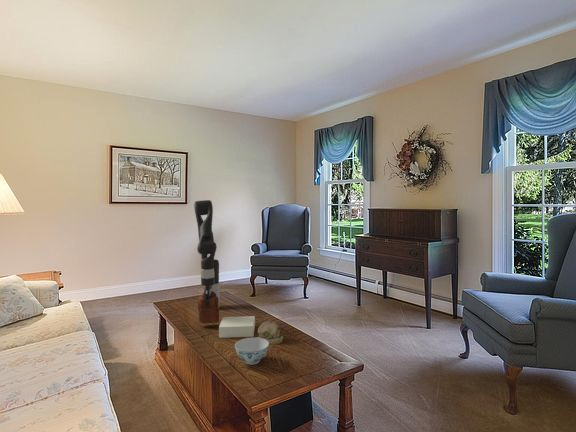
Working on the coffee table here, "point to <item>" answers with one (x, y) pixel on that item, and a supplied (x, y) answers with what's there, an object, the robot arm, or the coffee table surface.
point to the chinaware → (252, 349)
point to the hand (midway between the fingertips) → (208, 305)
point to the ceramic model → (270, 332)
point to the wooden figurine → (208, 309)
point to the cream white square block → (237, 327)
